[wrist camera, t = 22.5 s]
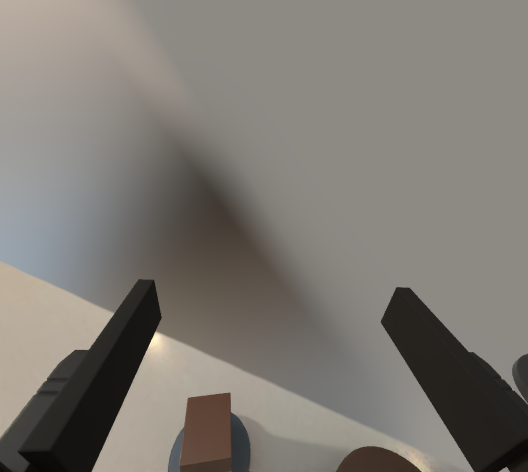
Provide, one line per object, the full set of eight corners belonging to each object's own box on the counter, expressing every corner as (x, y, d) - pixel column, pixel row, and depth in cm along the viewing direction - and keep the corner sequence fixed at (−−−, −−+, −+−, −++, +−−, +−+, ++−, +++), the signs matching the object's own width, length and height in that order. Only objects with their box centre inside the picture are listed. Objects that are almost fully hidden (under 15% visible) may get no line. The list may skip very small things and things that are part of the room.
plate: (244, 405, 34) (244, 401, 33) (256, 503, 25) (256, 500, 25) (174, 420, 32) (173, 416, 31) (162, 533, 23) (160, 530, 23)
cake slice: (192, 429, 30) (187, 397, 26) (230, 423, 31) (230, 392, 27) (186, 495, 25) (178, 467, 21) (231, 486, 26) (231, 457, 22)
